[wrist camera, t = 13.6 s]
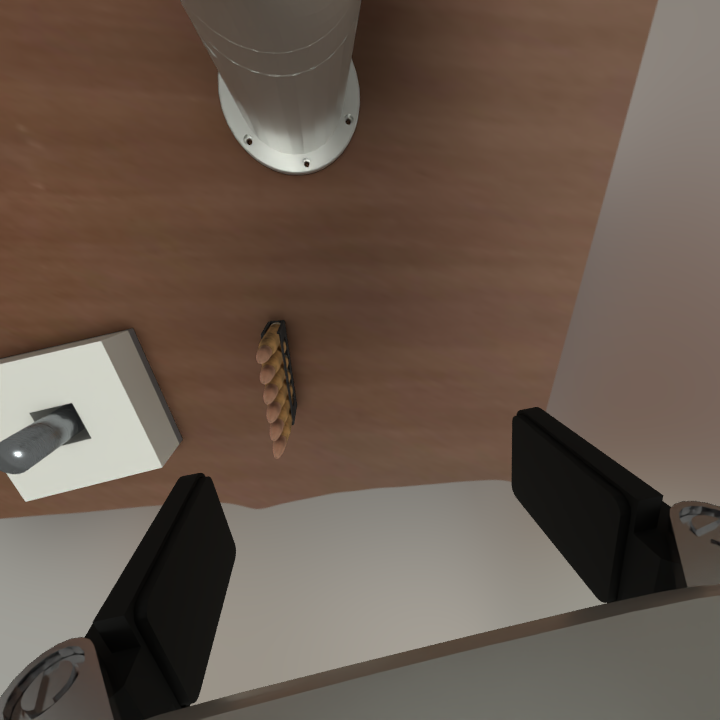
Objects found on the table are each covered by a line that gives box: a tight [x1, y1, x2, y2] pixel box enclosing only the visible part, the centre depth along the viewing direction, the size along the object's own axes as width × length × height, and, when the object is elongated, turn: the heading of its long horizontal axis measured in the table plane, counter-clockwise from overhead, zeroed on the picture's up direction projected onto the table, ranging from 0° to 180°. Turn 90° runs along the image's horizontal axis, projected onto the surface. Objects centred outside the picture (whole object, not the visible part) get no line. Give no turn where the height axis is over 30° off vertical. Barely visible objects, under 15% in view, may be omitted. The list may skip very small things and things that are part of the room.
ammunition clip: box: [256, 320, 297, 459], centre depth 33 cm, size 11×2×12 cm, turn 4°
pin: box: [0, 403, 86, 474], centre depth 31 cm, size 3×3×10 cm
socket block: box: [0, 328, 183, 502], centre depth 35 cm, size 14×14×6 cm
